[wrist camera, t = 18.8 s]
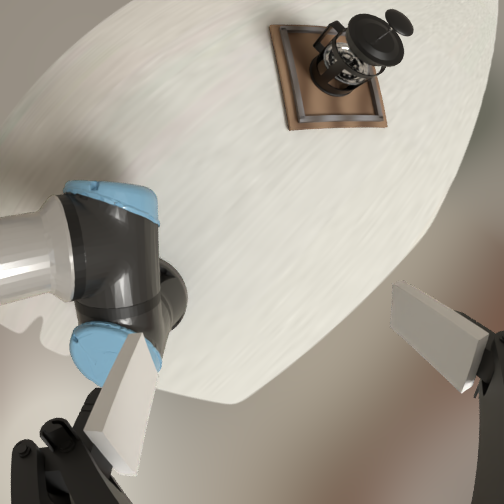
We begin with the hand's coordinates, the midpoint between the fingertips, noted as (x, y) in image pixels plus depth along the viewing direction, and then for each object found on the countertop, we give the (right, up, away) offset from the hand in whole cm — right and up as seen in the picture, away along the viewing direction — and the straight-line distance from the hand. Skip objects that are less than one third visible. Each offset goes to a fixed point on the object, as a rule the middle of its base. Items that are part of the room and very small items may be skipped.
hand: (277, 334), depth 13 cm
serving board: (+13, +37, +31) cm, 50 cm away
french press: (+13, +37, +30) cm, 49 cm away
